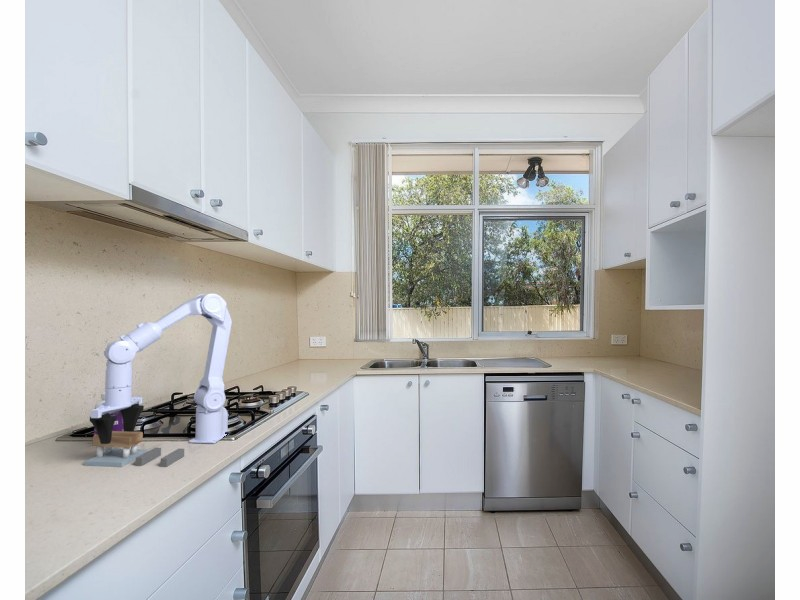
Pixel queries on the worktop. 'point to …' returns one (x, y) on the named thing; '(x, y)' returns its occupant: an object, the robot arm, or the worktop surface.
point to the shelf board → (120, 439)
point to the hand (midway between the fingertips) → (117, 438)
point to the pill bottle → (119, 420)
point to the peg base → (114, 456)
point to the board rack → (156, 453)
